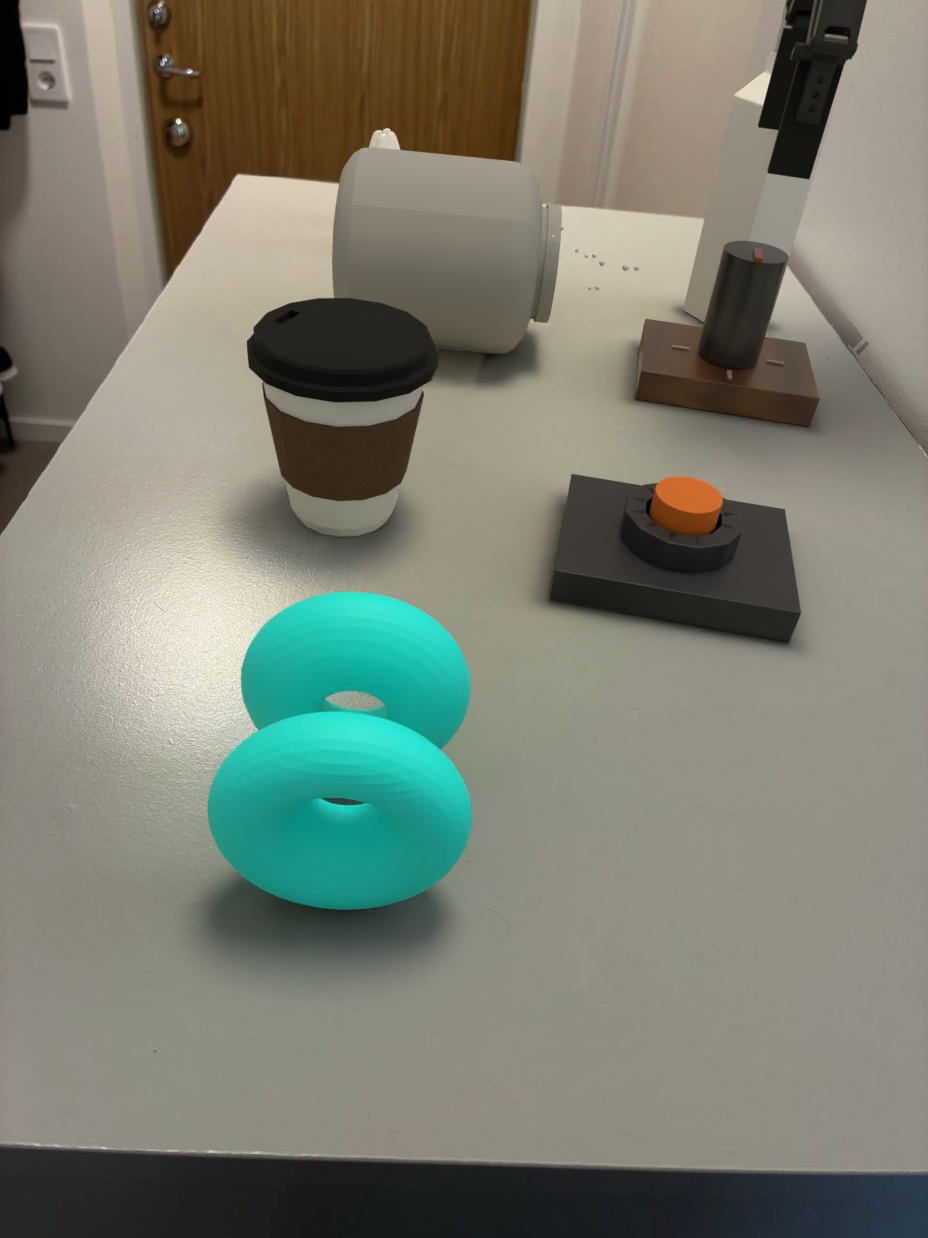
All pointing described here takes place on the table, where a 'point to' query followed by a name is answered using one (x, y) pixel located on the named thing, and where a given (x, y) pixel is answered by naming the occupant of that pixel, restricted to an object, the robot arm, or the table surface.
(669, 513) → the power button
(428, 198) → the jar
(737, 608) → the grey button base
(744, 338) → the temp dial
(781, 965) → the table surface
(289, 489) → the coffee cup
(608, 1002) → the table surface
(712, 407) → the dial panel
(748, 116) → the milk
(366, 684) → the donuts
